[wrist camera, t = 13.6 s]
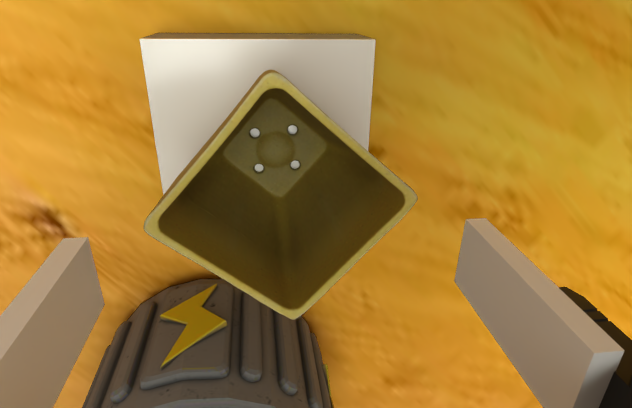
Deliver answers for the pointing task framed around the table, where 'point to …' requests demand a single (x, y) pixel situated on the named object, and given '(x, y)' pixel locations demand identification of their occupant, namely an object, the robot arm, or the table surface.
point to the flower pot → (279, 200)
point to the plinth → (248, 84)
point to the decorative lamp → (210, 355)
